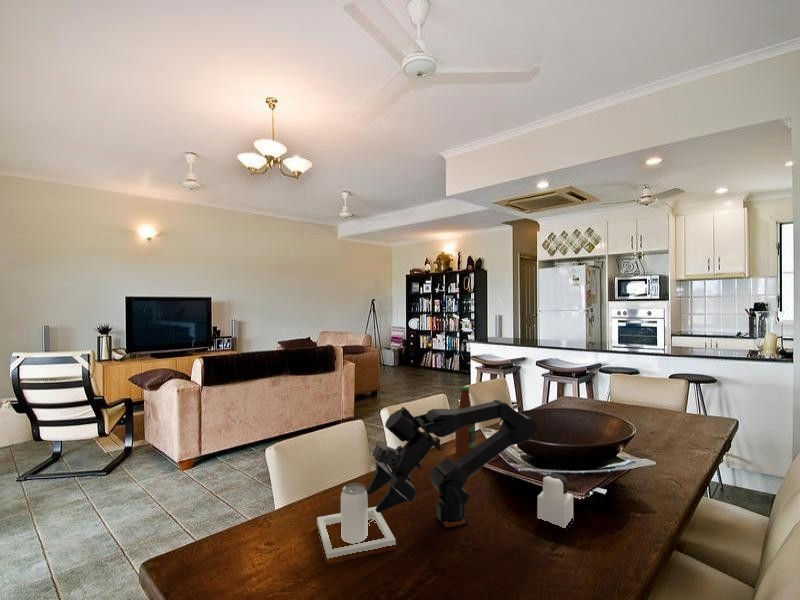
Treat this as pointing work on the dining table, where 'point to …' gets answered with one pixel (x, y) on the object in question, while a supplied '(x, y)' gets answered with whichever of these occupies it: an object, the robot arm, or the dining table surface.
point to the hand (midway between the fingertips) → (372, 502)
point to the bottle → (465, 428)
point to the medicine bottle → (555, 501)
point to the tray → (359, 547)
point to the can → (354, 513)
